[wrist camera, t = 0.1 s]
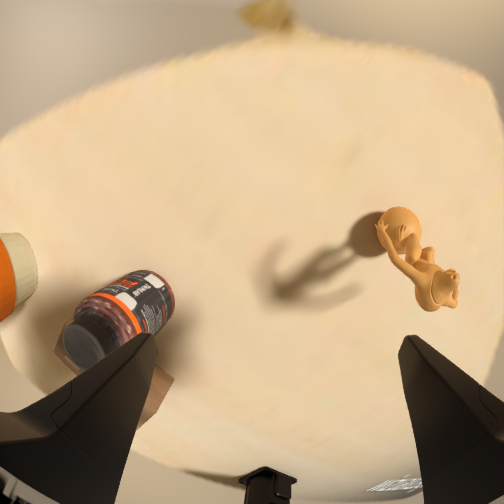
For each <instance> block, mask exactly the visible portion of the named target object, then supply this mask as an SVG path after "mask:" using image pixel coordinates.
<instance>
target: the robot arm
mask: <svg viewBox="0 0 504 504" xmlns="http://www.w3.org/2000/svg"><path fill="white" fill-rule="evenodd" d="M157 356H158V349H157V345H156V342H155V339H154V336H153V334H152V333H148V332H140V333H139V334H137V335H136V336H134V337H133V338H132V339H130V340H129V341H127V342H126V343H124V344H123V345H121V346H120V347H119V348H117V349H116V350H114V351H113V352H111V353H110V354H109V355H107V356H106V357H104V358H103V359H101V360H100V361H98V362H97V363H96V364H94V365H93V366H91V367H90V368H88V369H87V370H85V371H84V372H83V373H81V374H80V375H78V376H77V377H75V378H74V379H73V380H71V381H69V382H68V383H67V384H65V385H64V386H62V387H61V388H59V389H58V390H56V391H54V392H53V393H51V394H49V395H48V396H46V397H44V398H42V399H41V400H39V401H37V402H36V403H33V404H31V405H30V406H28V407H26V408H24V409H22V410H20V411H17V412H12V413H5V412H0V504H114V503H115V499H116V495H117V492H118V488H119V485H120V481H121V477H122V474H123V470H124V467H125V464H126V460H127V457H128V454H129V450H130V447H131V444H132V441H133V438H134V435H135V432H136V429H137V425H138V422H139V419H140V416H141V414H142V411H143V408H144V405H145V402H146V399H147V396H148V393H149V390H150V386H151V382H152V377H153V373H154V369H155V364H156V360H157ZM398 359H399V365H400V370H401V376H402V383H403V389H404V394H405V398H406V402H407V406H408V410H409V415H410V419H411V423H412V428H413V433H414V437H415V442H416V448H417V453H418V459H419V465H420V471H421V478H422V485H423V486H422V487H423V495H424V504H504V402H503V401H501V400H500V399H498V398H497V397H496V396H494V395H493V394H492V393H490V392H489V391H487V390H486V389H485V388H484V387H483V386H482V385H479V383H478V382H476V381H475V380H474V379H473V378H471V377H470V376H469V375H468V374H466V373H465V372H464V371H463V370H461V369H460V368H459V367H457V366H456V365H455V364H454V363H452V362H451V361H450V360H448V359H447V358H446V357H445V356H443V355H442V354H441V353H439V352H438V351H437V350H435V349H434V348H433V347H432V346H430V345H429V344H428V343H426V342H425V341H424V340H422V339H421V338H420V337H418V336H417V335H407V336H406V337H405V338H404V340H403V343H402V345H401V347H400V350H399V353H398ZM296 482H297V479H295V478H293V477H290V476H288V475H285V474H283V473H280V472H278V471H275V470H273V469H271V468H268V467H265V468H262V469H260V470H258V471H256V472H254V473H252V474H250V475H248V476H246V477H244V478H241V479H239V483H240V484H243V485H245V486H246V492H245V500H244V504H290V499H291V485H292V484H294V483H296Z"/></svg>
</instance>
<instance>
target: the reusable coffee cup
mask: <svg viewBox="0 0 504 504" xmlns="http://www.w3.org/2000/svg"><path fill="white" fill-rule="evenodd" d="M37 283H38V269H37V263H36V258H35V255H34V252H33V249H32V247H31V245H30V243H29V242H28V240H27V239H26V238H25V237H24V236H23V235H22V234H20V233H0V322H1V321H2V320H4V319H5V318H6V317H8V316H9V315H10V314H11V313H12V312H13V310H14V307H16V306H17V305H18V304H20V303H21V302H22V301H24V300H25V299H27V298H28V297H30V296H31V295H32V294H33V293H34V292H35V290H36V287H37Z"/></svg>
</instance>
